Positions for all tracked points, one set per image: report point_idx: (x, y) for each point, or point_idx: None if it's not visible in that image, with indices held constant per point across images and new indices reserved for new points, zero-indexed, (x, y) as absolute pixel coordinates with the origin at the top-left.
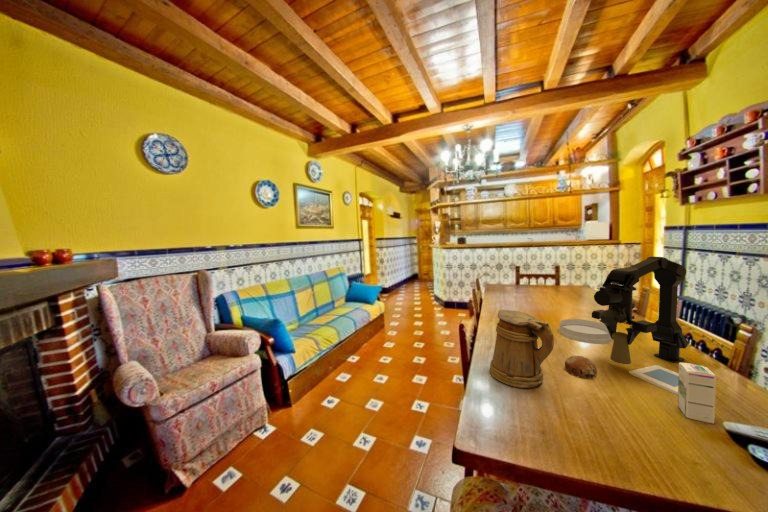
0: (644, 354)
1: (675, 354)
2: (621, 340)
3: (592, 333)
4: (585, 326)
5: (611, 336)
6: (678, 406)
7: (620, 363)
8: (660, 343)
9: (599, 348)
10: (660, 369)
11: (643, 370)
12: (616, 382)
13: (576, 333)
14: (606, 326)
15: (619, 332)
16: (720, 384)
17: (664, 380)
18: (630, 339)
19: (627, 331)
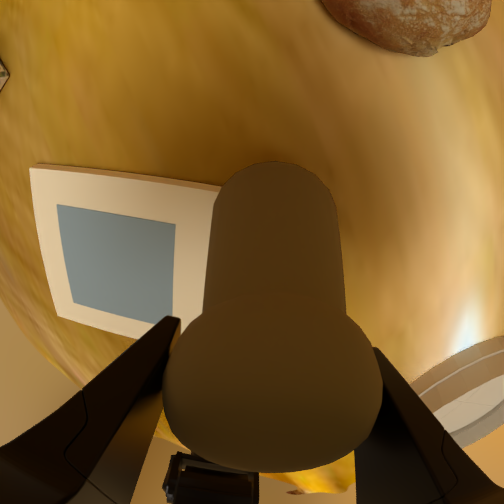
0: None
1: None
2: (218, 318)
3: (441, 413)
4: (456, 429)
5: (385, 369)
6: (4, 70)
7: (249, 167)
8: None
9: (415, 347)
10: None
11: (191, 263)
12: (209, 14)
13: (502, 366)
14: (480, 475)
15: (298, 463)
16: (72, 347)
17: (97, 231)
18: (104, 369)
19: (62, 497)
